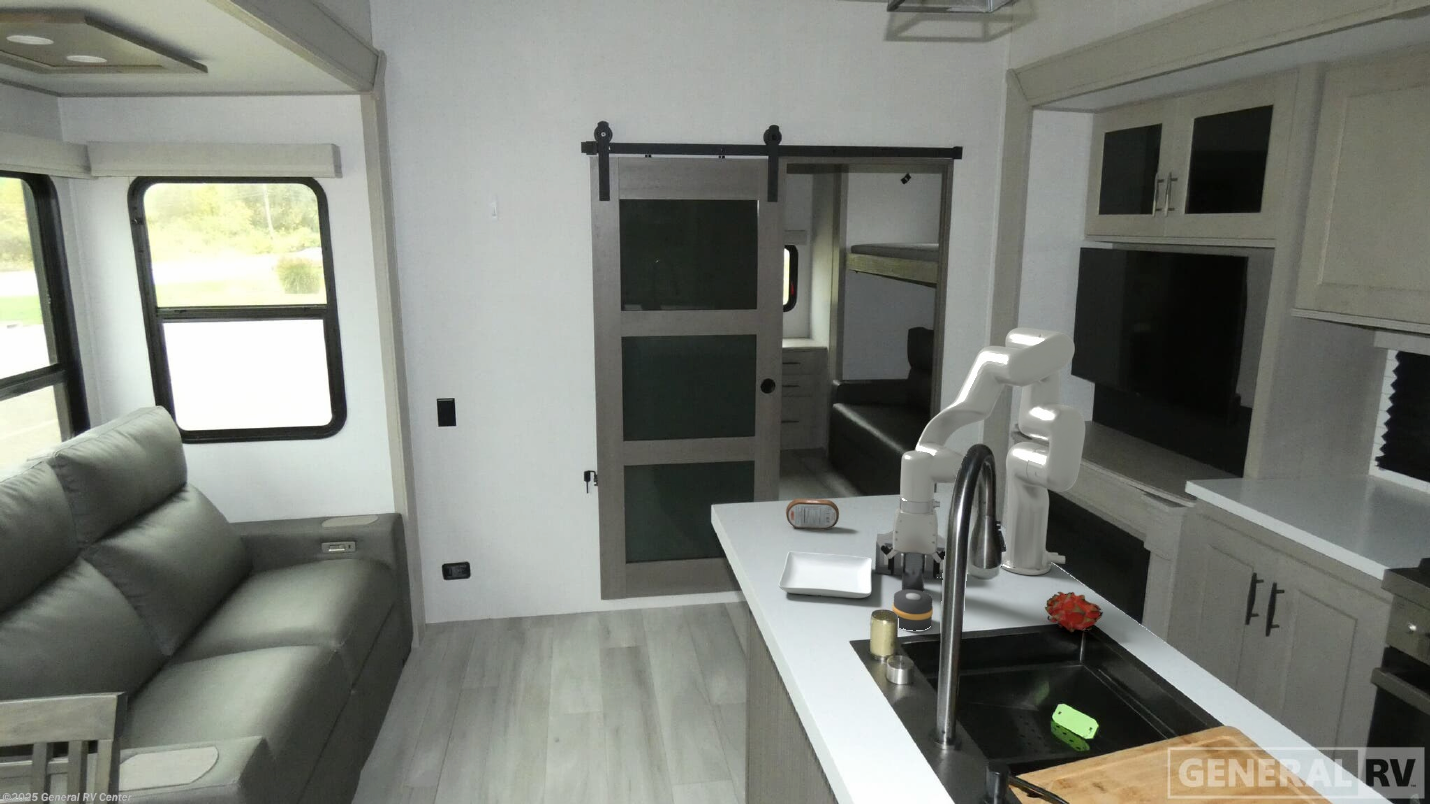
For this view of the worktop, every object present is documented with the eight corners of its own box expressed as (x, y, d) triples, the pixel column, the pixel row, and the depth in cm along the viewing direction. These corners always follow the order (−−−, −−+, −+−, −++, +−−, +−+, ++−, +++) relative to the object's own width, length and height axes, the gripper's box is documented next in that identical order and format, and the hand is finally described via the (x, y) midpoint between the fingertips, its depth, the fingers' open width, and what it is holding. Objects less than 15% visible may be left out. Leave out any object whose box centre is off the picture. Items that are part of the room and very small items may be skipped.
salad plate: (871, 606, 181) (871, 592, 180) (777, 599, 185) (777, 585, 184) (871, 569, 201) (872, 556, 200) (787, 563, 205) (787, 550, 204)
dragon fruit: (1037, 630, 172) (1094, 641, 171) (1052, 624, 164) (1112, 635, 163) (1038, 591, 175) (1094, 601, 174) (1052, 583, 167) (1111, 593, 166)
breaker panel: (949, 570, 199) (951, 539, 198) (951, 582, 192) (953, 551, 190) (876, 563, 204) (877, 533, 202) (874, 575, 196) (875, 544, 195)
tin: (838, 526, 230) (839, 498, 228) (839, 530, 227) (839, 502, 225) (785, 525, 231) (786, 497, 230) (785, 529, 228) (786, 501, 226)
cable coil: (931, 616, 175) (933, 589, 174) (932, 634, 167) (933, 606, 166) (892, 612, 177) (893, 586, 176) (891, 630, 169) (892, 602, 168)
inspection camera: (923, 586, 190) (925, 546, 188) (923, 595, 185) (925, 555, 183) (901, 584, 191) (903, 544, 189) (901, 593, 186) (903, 553, 184)
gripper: (954, 502, 185) (951, 571, 189) (878, 497, 190) (876, 565, 193) (956, 513, 178) (952, 584, 182) (877, 507, 182) (874, 577, 186)
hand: (913, 574), depth 187 cm, fingers open, 9 cm apart
